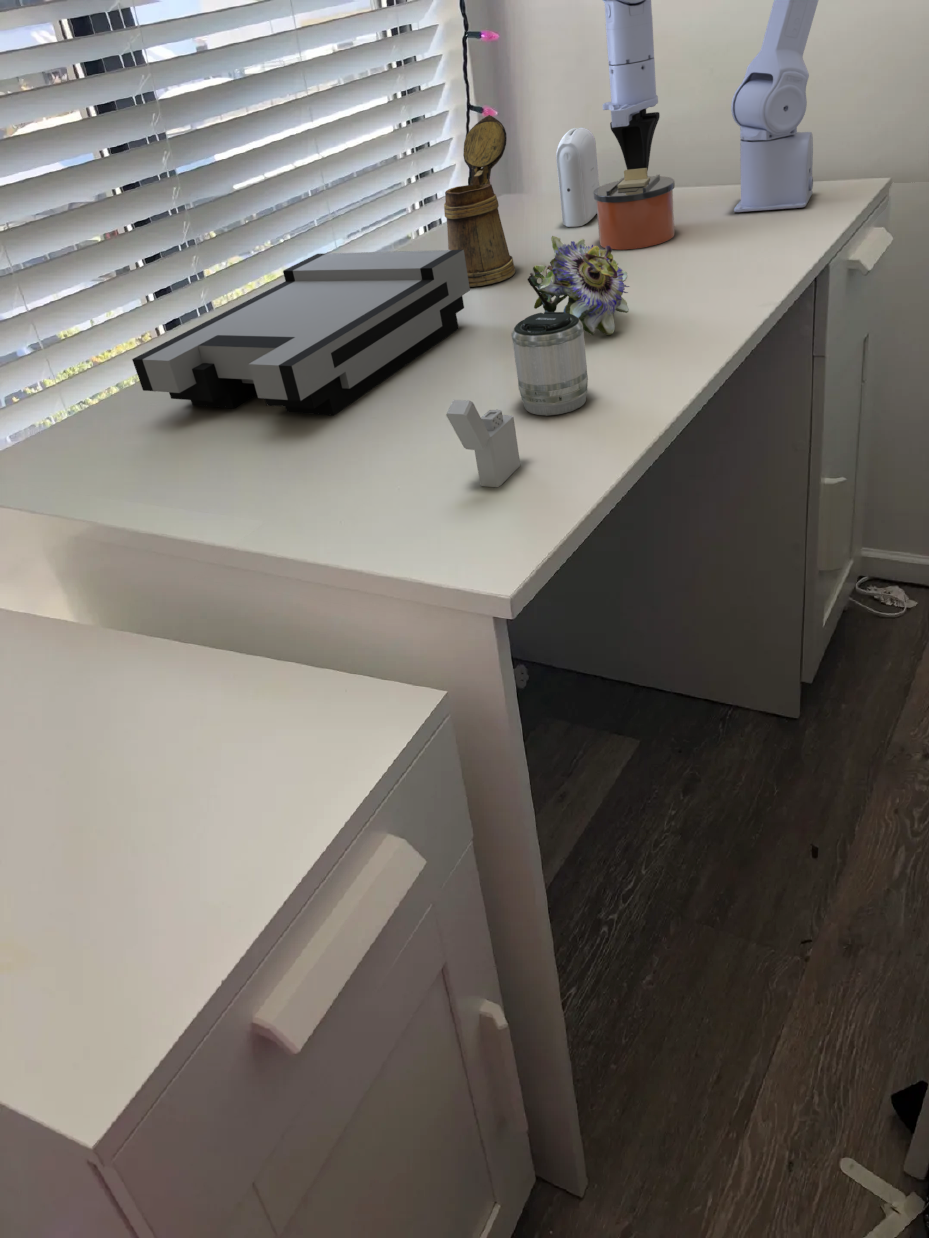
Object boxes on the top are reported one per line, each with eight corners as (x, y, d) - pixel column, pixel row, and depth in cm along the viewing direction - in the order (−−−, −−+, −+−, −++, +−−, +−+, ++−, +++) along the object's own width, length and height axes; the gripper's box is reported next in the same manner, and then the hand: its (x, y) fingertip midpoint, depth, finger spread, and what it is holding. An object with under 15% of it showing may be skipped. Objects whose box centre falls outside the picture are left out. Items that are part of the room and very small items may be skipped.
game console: (154, 424, 104) (127, 347, 100) (332, 320, 126) (317, 253, 122) (310, 437, 94) (288, 352, 90) (474, 322, 116) (463, 249, 112)
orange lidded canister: (684, 226, 137) (682, 170, 134) (666, 247, 130) (663, 189, 126) (609, 231, 142) (605, 177, 138) (587, 252, 134) (582, 196, 130)
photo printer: (588, 226, 146) (580, 134, 139) (559, 228, 148) (550, 137, 141) (604, 208, 154) (597, 120, 147) (577, 211, 156) (569, 124, 149)
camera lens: (573, 419, 88) (563, 331, 84) (509, 415, 91) (497, 330, 87) (600, 391, 92) (593, 306, 88) (539, 389, 95) (529, 306, 91)
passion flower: (610, 382, 108) (589, 315, 97) (522, 360, 113) (493, 293, 102) (652, 296, 110) (636, 221, 100) (563, 278, 115) (539, 204, 104)
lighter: (502, 463, 83) (488, 369, 78) (521, 464, 82) (507, 370, 77) (461, 503, 78) (443, 406, 73) (481, 505, 77) (464, 407, 72)
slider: (650, 181, 133) (649, 167, 132) (644, 186, 130) (643, 172, 129) (623, 183, 134) (622, 170, 133) (617, 189, 132) (616, 175, 131)
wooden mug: (538, 256, 137) (522, 110, 127) (499, 287, 127) (477, 132, 117) (480, 258, 140) (459, 118, 131) (437, 289, 131) (411, 139, 121)
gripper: (616, 57, 133) (623, 166, 141) (583, 74, 123) (593, 191, 130) (668, 50, 130) (673, 162, 138) (640, 66, 120) (647, 187, 127)
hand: (638, 176), depth 134 cm, fingers closed
